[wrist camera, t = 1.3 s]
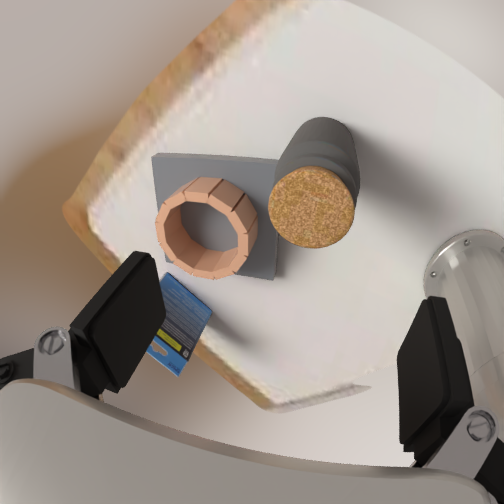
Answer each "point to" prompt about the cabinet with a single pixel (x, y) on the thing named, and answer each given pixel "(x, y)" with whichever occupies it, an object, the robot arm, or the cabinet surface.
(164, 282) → the label tape box
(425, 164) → the cabinet surface
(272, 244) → the holder
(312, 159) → the bottle
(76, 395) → the robot arm
